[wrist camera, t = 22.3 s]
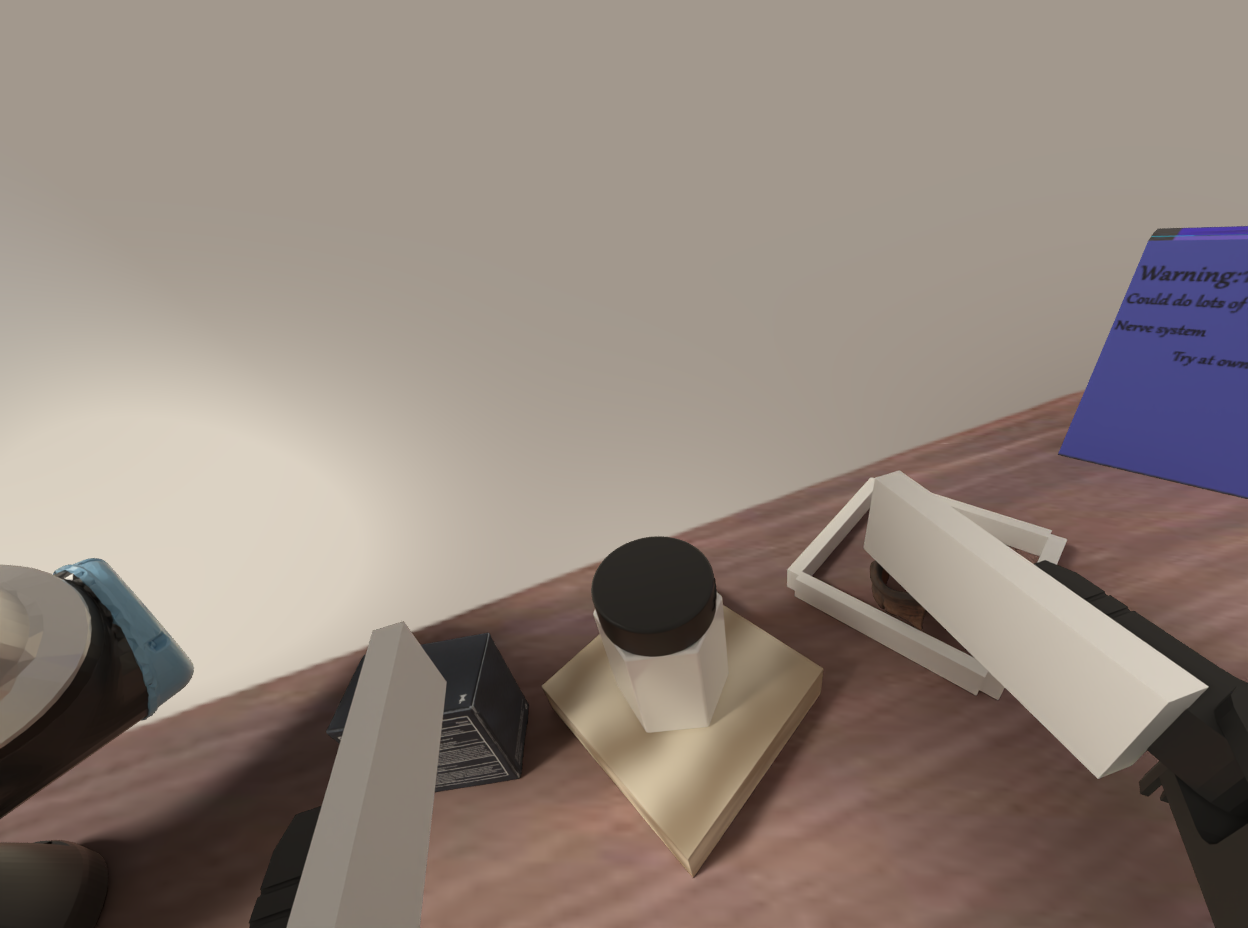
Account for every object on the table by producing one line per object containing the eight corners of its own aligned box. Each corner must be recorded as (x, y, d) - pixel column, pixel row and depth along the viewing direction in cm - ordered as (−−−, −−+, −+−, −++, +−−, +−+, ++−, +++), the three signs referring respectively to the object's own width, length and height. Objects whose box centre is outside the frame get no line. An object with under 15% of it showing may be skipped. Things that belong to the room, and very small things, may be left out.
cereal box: (1302, 486, 45) (1524, 215, 31) (1301, 511, 42) (1539, 230, 29) (1068, 437, 57) (1158, 226, 44) (1057, 454, 54) (1149, 238, 41)
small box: (531, 698, 41) (492, 626, 35) (522, 780, 35) (474, 711, 29) (418, 717, 41) (362, 649, 35) (392, 801, 36) (320, 736, 30)
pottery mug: (997, 686, 35) (953, 619, 33) (881, 647, 43) (839, 592, 41) (1043, 568, 39) (1007, 502, 37) (929, 553, 48) (894, 499, 45)
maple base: (552, 708, 39) (541, 686, 37) (674, 593, 47) (670, 571, 45) (693, 878, 29) (687, 859, 27) (820, 693, 36) (823, 668, 35)
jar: (751, 694, 34) (747, 588, 27) (662, 763, 31) (634, 663, 25) (680, 616, 41) (663, 516, 34) (603, 666, 38) (568, 568, 31)
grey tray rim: (783, 590, 45) (784, 573, 44) (870, 491, 55) (873, 474, 53) (995, 706, 33) (1005, 688, 32) (1059, 554, 43) (1069, 535, 42)
